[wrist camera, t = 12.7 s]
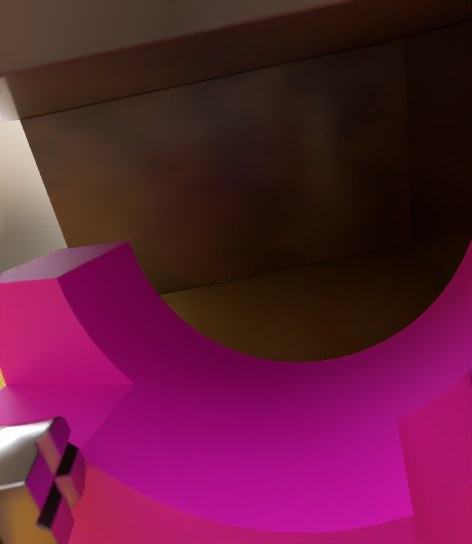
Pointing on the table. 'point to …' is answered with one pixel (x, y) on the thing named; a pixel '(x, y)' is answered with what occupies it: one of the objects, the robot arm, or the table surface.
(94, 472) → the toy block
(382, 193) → the shelf
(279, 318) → the table surface
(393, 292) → the table surface
